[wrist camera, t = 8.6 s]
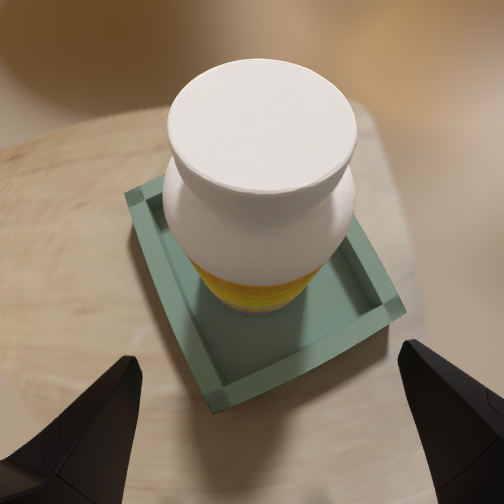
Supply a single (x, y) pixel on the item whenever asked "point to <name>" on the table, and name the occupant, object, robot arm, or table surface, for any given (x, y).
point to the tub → (266, 324)
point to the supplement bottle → (259, 179)
